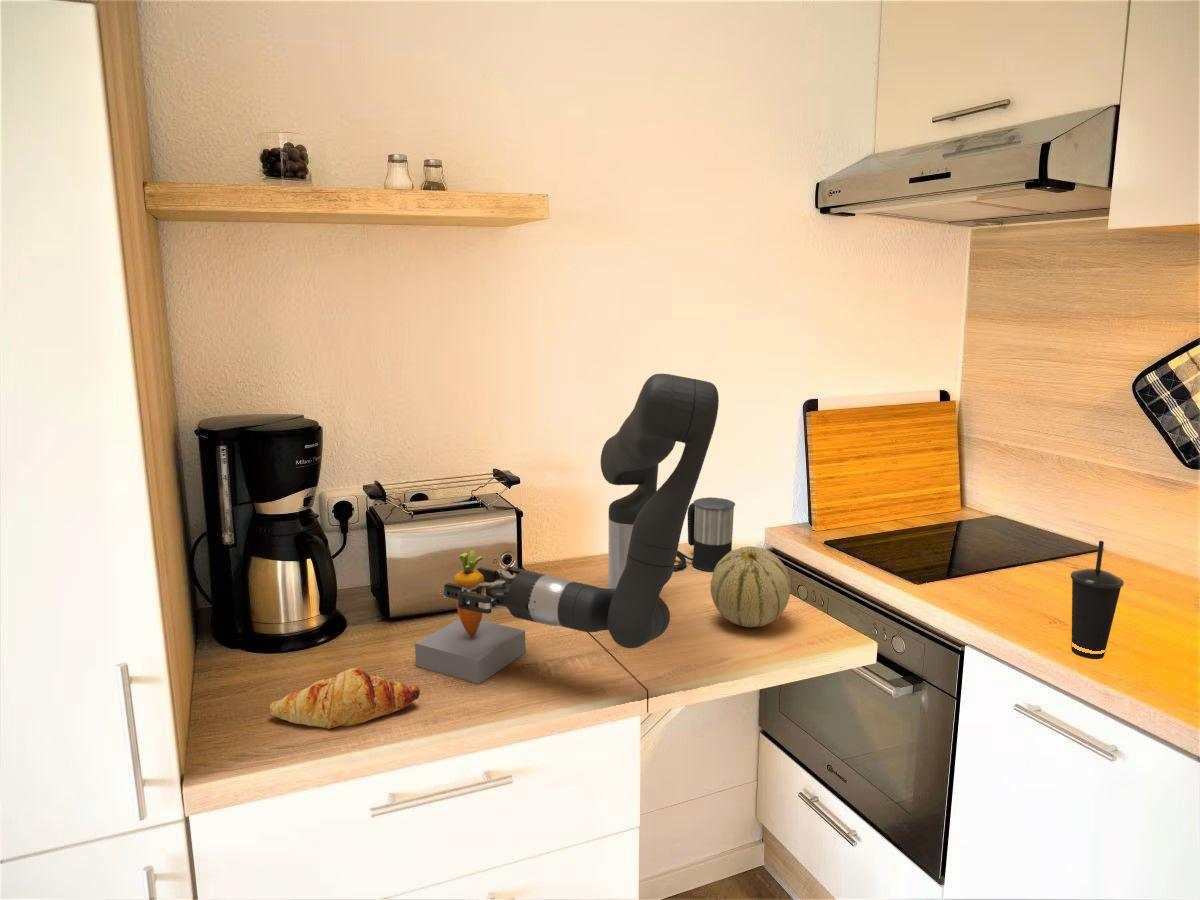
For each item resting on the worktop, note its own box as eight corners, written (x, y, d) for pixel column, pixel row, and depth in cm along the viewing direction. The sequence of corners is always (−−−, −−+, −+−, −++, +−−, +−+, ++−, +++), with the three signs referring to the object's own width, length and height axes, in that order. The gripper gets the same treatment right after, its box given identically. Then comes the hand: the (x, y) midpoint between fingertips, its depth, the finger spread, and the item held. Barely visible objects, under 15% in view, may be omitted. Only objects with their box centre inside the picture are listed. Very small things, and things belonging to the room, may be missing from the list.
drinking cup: (1054, 651, 139) (1067, 540, 135) (1072, 639, 144) (1085, 532, 140) (1103, 667, 133) (1119, 551, 130) (1120, 654, 138) (1135, 542, 134)
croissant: (269, 753, 115) (259, 721, 110) (277, 692, 122) (267, 660, 117) (422, 733, 119) (418, 701, 114) (420, 676, 127) (417, 644, 122)
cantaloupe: (769, 605, 159) (772, 532, 157) (803, 636, 145) (807, 556, 143) (698, 611, 156) (700, 537, 154) (725, 643, 142) (728, 562, 139)
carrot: (473, 628, 139) (469, 544, 136) (492, 635, 136) (488, 549, 133) (450, 637, 135) (445, 551, 132) (470, 645, 132) (465, 557, 129)
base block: (465, 637, 145) (464, 615, 144) (525, 652, 139) (525, 630, 138) (415, 665, 134) (414, 643, 133) (479, 684, 127) (478, 660, 127)
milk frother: (741, 566, 182) (743, 502, 180) (695, 583, 172) (697, 515, 169) (693, 551, 193) (694, 491, 190) (647, 566, 182) (648, 502, 179)
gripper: (567, 563, 132) (487, 548, 140) (518, 590, 120) (432, 572, 127) (568, 606, 133) (488, 589, 141) (519, 638, 121) (434, 617, 129)
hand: (462, 581), depth 134 cm, fingers open, 8 cm apart
